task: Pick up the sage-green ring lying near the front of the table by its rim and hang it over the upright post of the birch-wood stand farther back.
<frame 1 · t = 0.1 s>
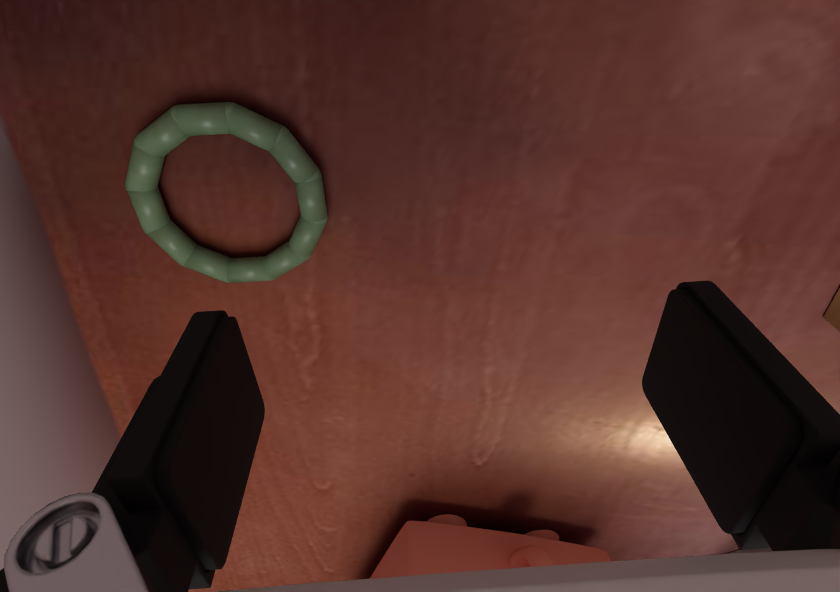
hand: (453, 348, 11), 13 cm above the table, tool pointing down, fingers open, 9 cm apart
teapot: (508, 561, 44), on the table
ring: (230, 201, 22), point 1 cm above the table
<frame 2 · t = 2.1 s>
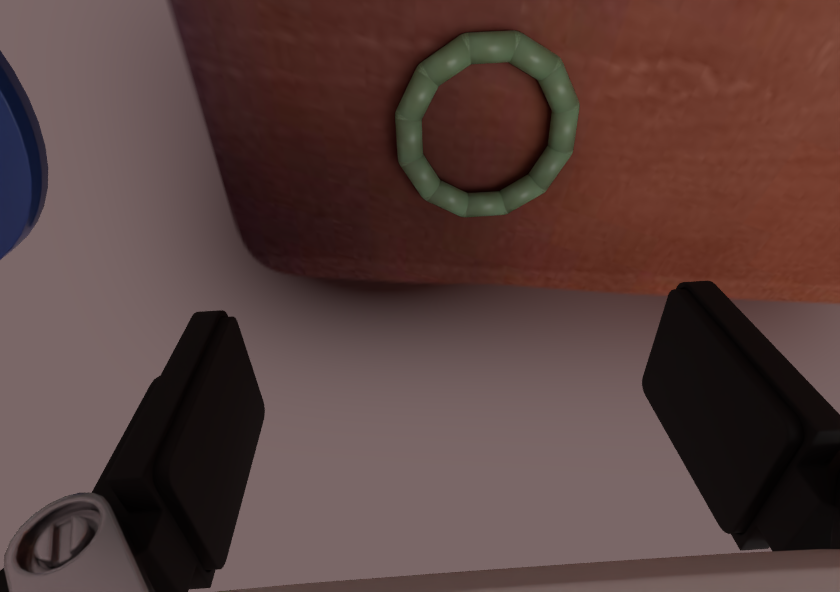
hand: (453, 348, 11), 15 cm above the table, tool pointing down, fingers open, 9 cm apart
ring: (486, 133, 23), point 1 cm above the table
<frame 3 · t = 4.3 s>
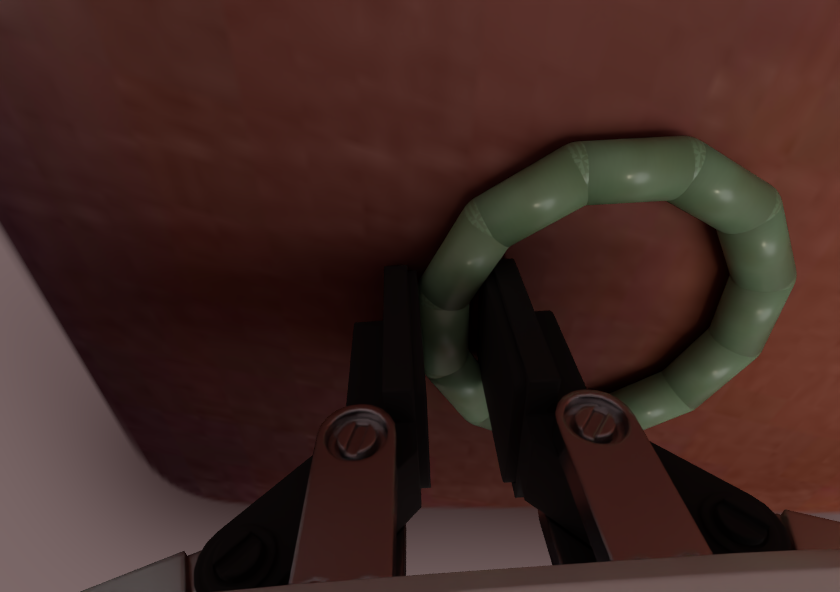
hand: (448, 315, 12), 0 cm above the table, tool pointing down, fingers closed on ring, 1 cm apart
ring: (596, 318, 12), point 1 cm above the table, touching gripper
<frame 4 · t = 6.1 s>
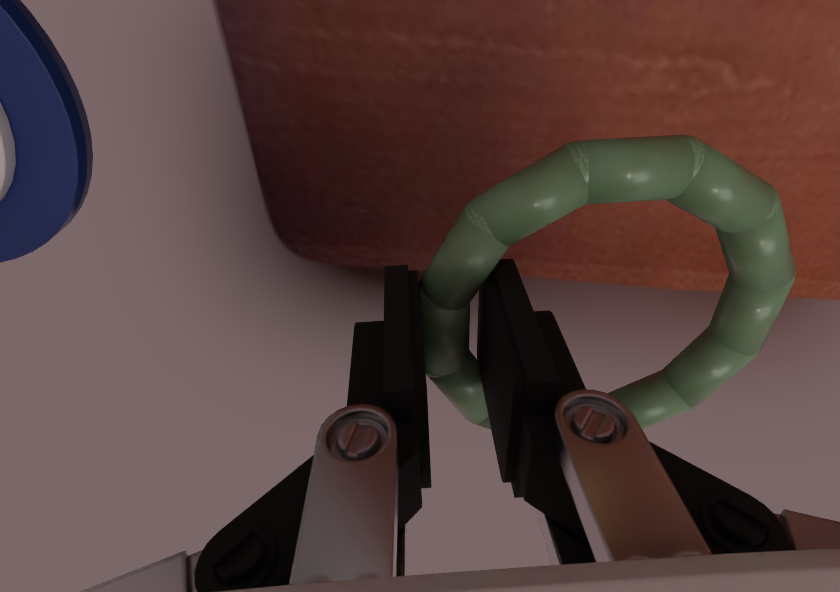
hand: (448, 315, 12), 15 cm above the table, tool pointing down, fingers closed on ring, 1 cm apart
ring: (596, 317, 12), point 16 cm above the table, touching gripper
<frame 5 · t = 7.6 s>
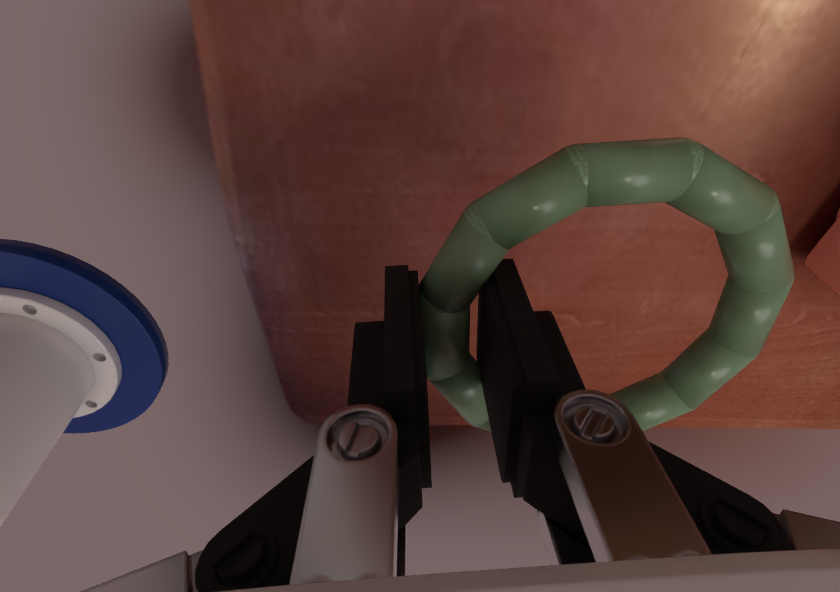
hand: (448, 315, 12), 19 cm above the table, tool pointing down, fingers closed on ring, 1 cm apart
ring: (596, 319, 12), point 20 cm above the table, touching gripper
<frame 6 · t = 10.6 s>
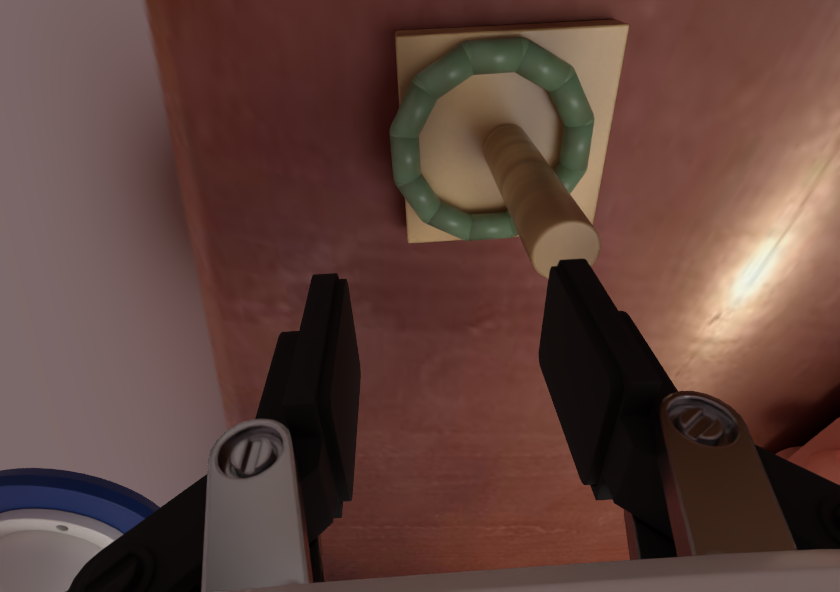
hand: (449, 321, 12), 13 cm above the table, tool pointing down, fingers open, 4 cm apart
stand: (499, 136, 23), on the table
ring: (490, 149, 21), point 2 cm above the table, touching stand
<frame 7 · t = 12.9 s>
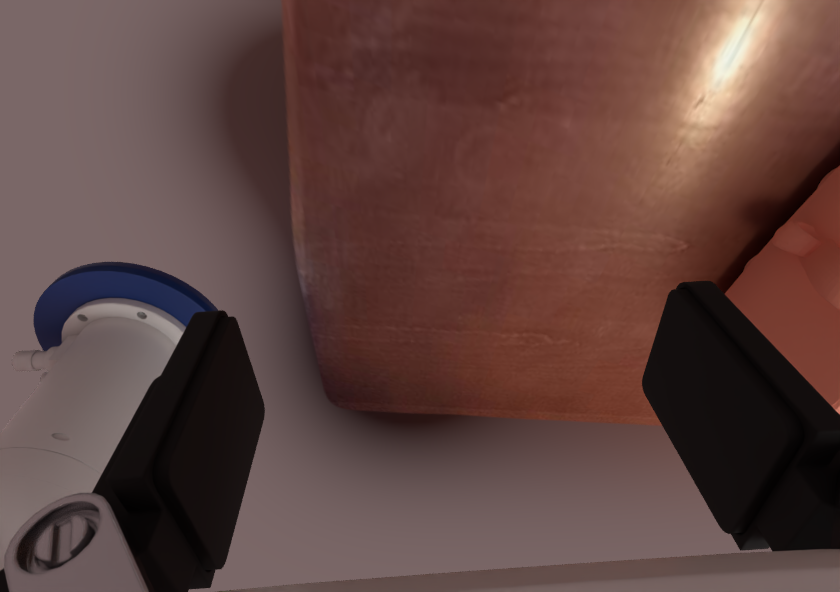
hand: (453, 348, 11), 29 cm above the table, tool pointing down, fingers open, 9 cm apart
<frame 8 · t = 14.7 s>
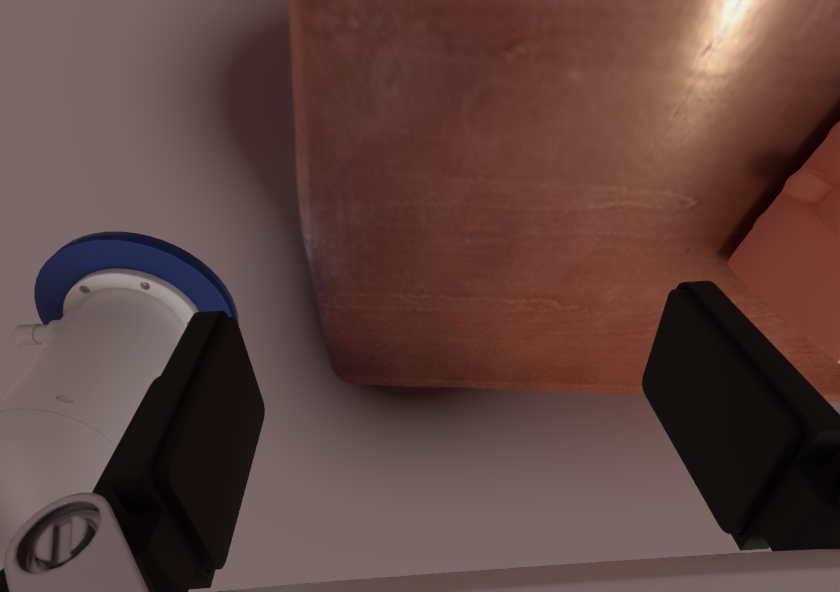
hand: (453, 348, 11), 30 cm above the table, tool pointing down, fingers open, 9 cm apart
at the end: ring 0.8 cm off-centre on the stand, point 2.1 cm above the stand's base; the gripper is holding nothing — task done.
